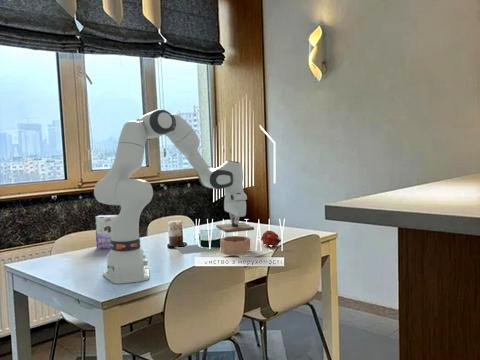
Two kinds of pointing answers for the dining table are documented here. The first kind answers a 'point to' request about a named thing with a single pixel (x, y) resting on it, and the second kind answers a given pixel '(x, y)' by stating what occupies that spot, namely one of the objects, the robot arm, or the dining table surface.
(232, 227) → the lid
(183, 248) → the mat
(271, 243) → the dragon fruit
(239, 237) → the bowl
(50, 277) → the dining table surface
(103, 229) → the candy box
